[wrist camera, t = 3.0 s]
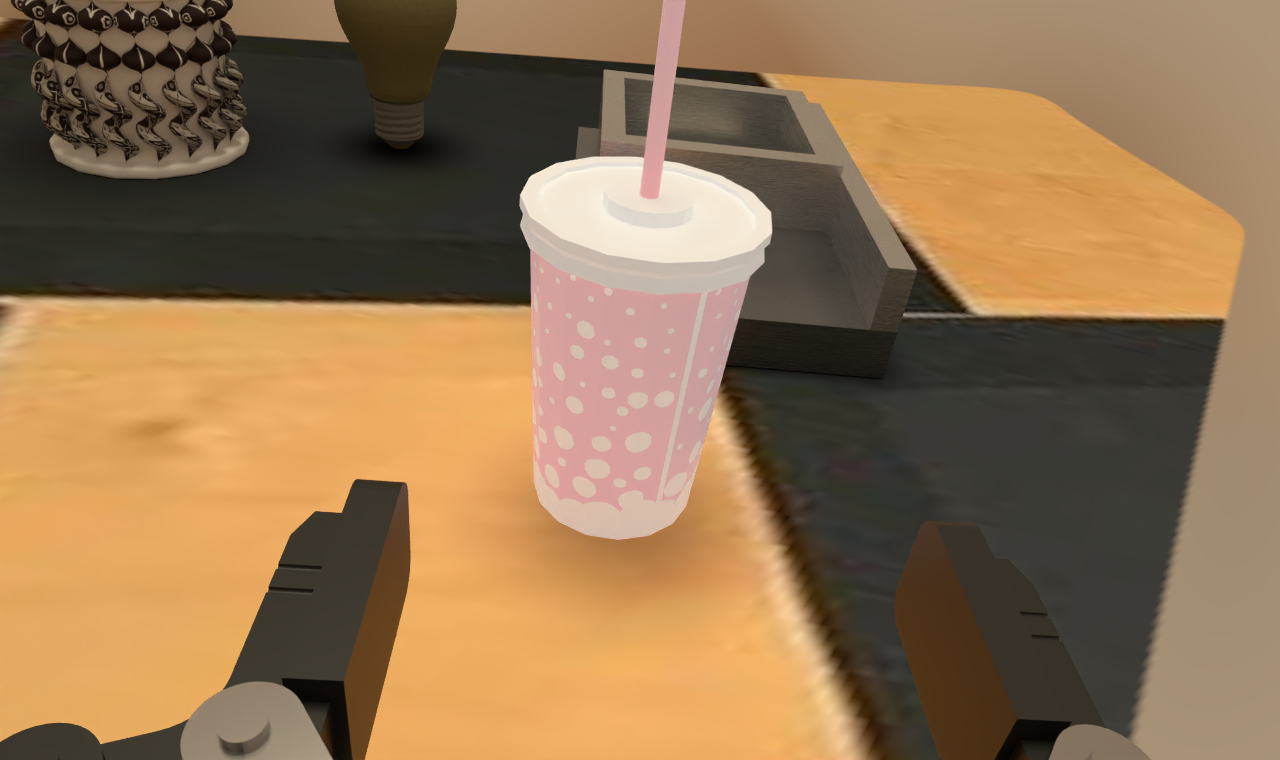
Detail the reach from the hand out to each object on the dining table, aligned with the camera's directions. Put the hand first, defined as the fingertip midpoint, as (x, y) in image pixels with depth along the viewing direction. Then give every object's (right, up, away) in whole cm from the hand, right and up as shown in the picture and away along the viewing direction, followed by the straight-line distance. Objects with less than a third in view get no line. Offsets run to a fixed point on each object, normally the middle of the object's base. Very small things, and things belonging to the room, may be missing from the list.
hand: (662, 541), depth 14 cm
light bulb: (-13, +14, +33) cm, 38 cm away
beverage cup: (-1, -1, +13) cm, 13 cm away
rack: (+2, +8, +26) cm, 28 cm away
